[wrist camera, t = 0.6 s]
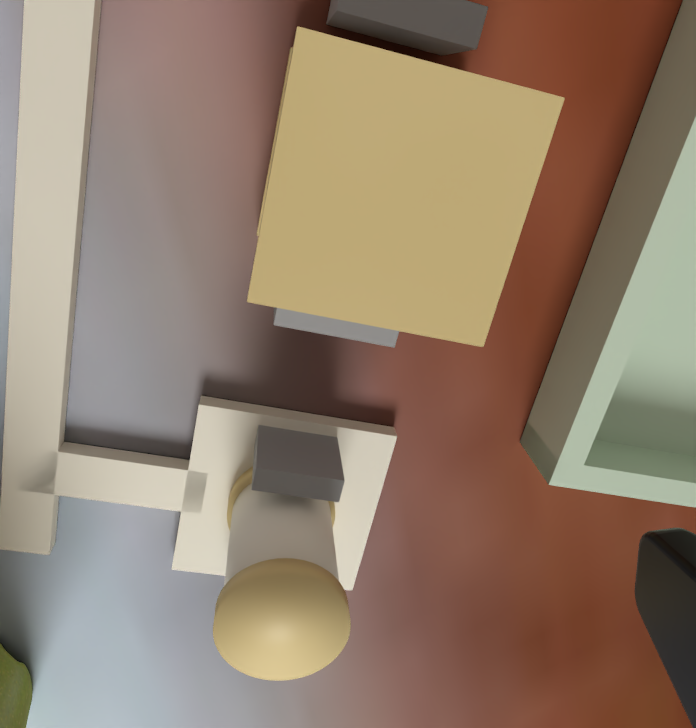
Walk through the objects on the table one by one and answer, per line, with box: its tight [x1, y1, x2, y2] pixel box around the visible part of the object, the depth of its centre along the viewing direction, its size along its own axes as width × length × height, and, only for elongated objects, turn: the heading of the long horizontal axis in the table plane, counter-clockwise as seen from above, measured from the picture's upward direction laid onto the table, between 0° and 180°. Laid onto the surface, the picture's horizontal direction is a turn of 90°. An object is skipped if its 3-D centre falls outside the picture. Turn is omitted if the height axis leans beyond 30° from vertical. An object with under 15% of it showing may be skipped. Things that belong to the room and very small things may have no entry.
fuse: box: [247, 26, 565, 347], centre depth 14 cm, size 4×4×7 cm
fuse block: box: [0, 0, 488, 681], centre depth 14 cm, size 11×27×6 cm, turn 167°
